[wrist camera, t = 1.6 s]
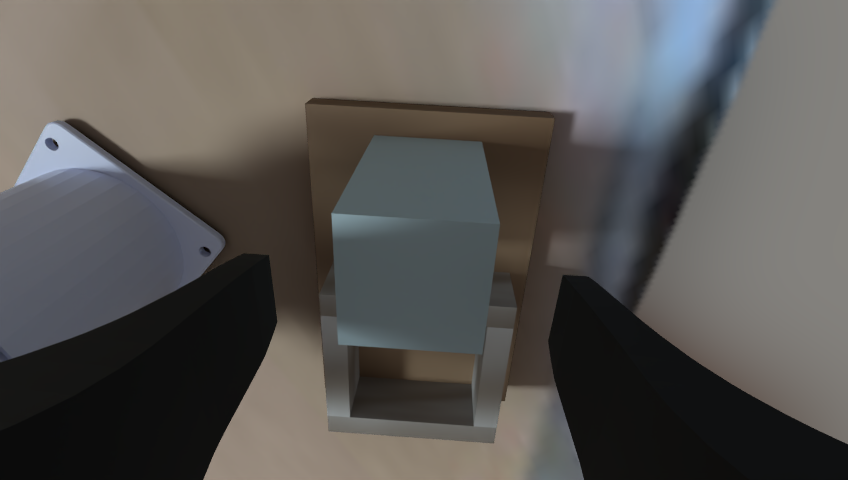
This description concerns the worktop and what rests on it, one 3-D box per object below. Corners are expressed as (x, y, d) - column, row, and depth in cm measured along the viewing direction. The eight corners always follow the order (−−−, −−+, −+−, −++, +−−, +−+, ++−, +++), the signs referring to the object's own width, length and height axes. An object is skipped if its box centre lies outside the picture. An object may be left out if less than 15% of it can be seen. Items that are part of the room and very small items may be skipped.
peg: (471, 237, 19) (482, 354, 13) (374, 231, 19) (338, 344, 13) (482, 141, 17) (499, 224, 11) (374, 135, 17) (331, 213, 11)
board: (312, 98, 18) (282, 119, 15) (549, 112, 18) (571, 137, 14) (329, 374, 24) (312, 429, 21) (502, 386, 24) (510, 444, 21)
